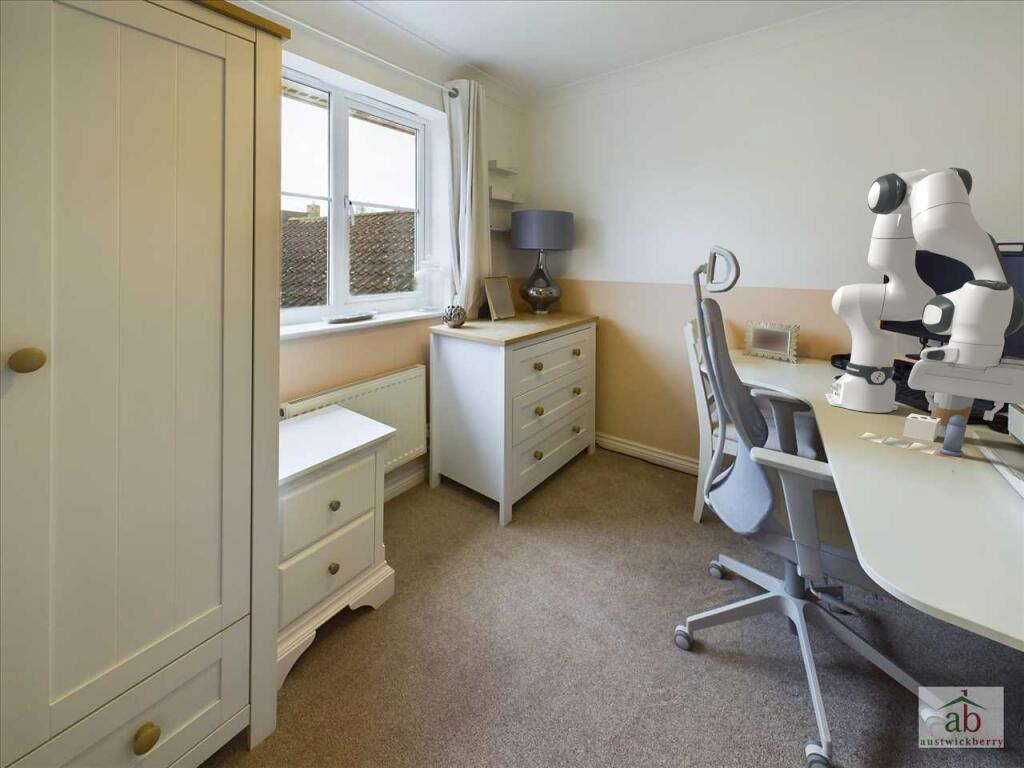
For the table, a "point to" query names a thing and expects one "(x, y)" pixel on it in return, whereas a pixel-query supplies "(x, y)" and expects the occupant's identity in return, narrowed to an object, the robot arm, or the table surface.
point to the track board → (906, 445)
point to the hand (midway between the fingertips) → (959, 414)
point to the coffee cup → (951, 408)
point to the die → (922, 427)
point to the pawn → (954, 436)
